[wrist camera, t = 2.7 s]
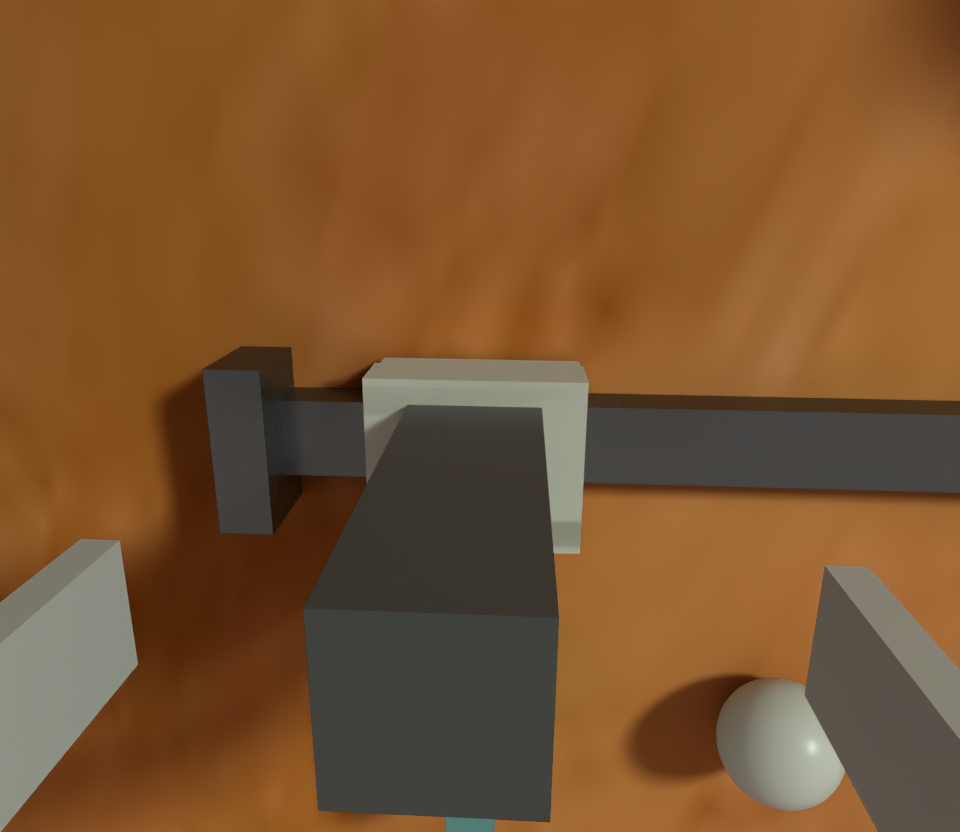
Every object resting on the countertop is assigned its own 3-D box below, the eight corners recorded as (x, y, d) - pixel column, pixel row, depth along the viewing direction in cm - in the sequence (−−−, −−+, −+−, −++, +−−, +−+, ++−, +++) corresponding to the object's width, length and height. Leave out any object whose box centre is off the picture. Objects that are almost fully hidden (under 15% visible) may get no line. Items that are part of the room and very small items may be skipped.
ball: (698, 745, 27) (727, 837, 23) (709, 650, 26) (741, 731, 22) (811, 750, 27) (858, 844, 23) (827, 655, 26) (879, 737, 22)
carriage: (397, 755, 28) (291, 1241, 15) (384, 351, 23) (214, 561, 10) (560, 763, 27) (592, 1265, 15) (579, 354, 23) (650, 575, 10)
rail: (254, 492, 25) (220, 532, 22) (241, 346, 24) (202, 369, 21) (1297, 522, 23) (1404, 569, 21) (1354, 366, 22) (1479, 394, 19)
